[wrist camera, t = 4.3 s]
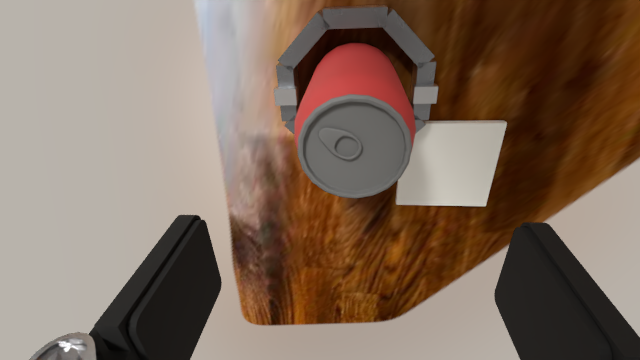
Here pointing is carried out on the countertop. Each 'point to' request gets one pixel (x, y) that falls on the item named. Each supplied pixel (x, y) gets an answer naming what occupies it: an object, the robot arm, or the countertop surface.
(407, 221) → the countertop surface
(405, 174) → the plate
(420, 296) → the countertop surface
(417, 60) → the collar
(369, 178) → the beer can
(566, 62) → the countertop surface
